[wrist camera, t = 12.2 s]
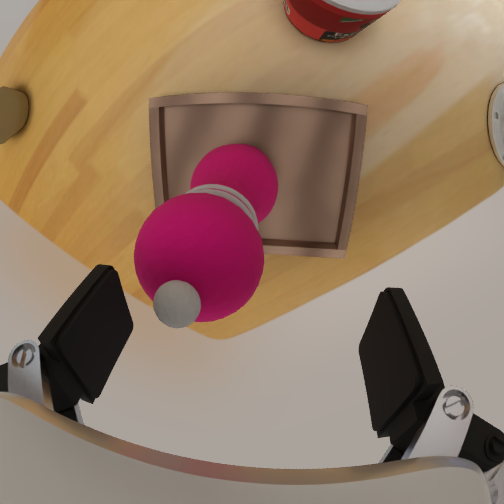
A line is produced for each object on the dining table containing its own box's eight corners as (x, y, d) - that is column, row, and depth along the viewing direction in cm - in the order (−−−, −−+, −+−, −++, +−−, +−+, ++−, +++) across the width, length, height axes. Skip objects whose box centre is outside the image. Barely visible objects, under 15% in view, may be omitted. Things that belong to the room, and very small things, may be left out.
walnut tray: (359, 105, 23) (367, 105, 21) (339, 247, 31) (344, 258, 29) (158, 98, 24) (148, 98, 21) (167, 237, 32) (160, 247, 29)
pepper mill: (292, 186, 26) (313, 351, 9) (231, 220, 29) (170, 391, 12) (252, 124, 24) (180, 172, 6) (191, 164, 26) (56, 282, 9)
